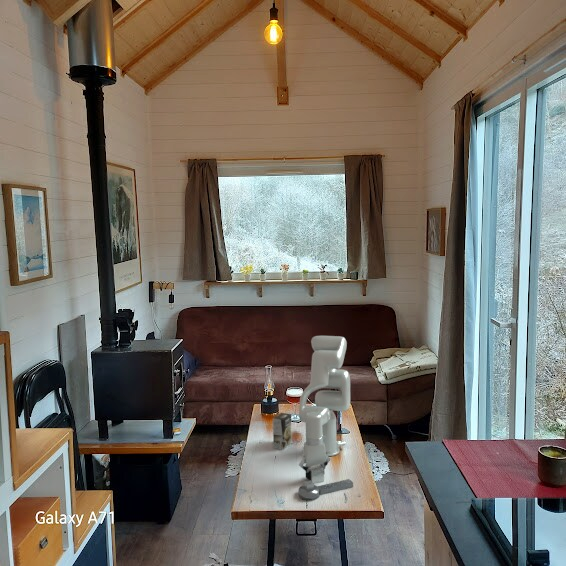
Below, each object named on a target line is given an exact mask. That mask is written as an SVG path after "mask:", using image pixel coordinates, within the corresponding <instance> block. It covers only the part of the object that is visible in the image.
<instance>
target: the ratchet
mask: <svg viewBox="0 0 566 566" xmlns="http://www.w3.org/2000/svg"><path fill="white" fill-rule="evenodd" d="M351 488H354V482H353V481H352V479H350V478H347V479H343V480H339V481H334V482H330V483H326V484H321V485H315V484H314V483H313V482H312V481H311V480H310V481H309V480H307V481H304V482H303V484H302V485H301V486H299V487H298V498H300V499H301V500H303V501H308V500H311V501H315V500H318V499H319V498H320V496H321V495H324V494H329V493H333V492H338V491H341V490H347V489H351Z"/></svg>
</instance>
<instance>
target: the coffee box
mask: <svg viewBox="0 0 566 566" xmlns="http://www.w3.org/2000/svg"><path fill="white" fill-rule="evenodd" d="M272 428H273V429H272V432H273V433H272V435H273V436H272V437H273V438H272V439H273V442H272V443H273V448H274V449H279V450H282V449H283V451H284V450H285V449H287V446H288V445H289V444H290V445H292V444H291V443H293V440H292V439H293V438H292V436H293V435H292V433H293V432H292V413H286V412H279V414H277V415H276V416H274V417H273V418H272ZM290 445H289V446H290ZM289 446H288V447H289Z"/></svg>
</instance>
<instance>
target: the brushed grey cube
mask: <svg viewBox="0 0 566 566" xmlns="http://www.w3.org/2000/svg"><path fill="white" fill-rule="evenodd" d="M309 472H310V480H311V481H312V482H313V483H314V485H315V484H318V483H323V482H325V474H324V473H325V469H324V468H323V467H322V466H321V465H320V464H318V465H314V466H311V468H310V471H309Z"/></svg>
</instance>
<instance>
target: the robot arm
mask: <svg viewBox="0 0 566 566" xmlns="http://www.w3.org/2000/svg"><path fill="white" fill-rule="evenodd" d="M310 343H311V348H312V350H313V351H314V352H312V355H311V367H310V368H311V369H310V382H309V384H308V385H307V387H306V388H304V390H303V391H302V393H301V395H300V398H299V406H298V418H299V420H300V422H302V423H305V442H304V443H303V447H302V459H301V461H300V462H299V463H298V466H299V467H300V468H301V469H303V470H304V472H305V478H306V479H307V481H310V472H309V471H310V468H311V466H314V465H318V464H320V465H321V466H322V467H323V468H324V470H325V469H326V467H327V466H328V463H330V461H331V460H332V459H331V457H333V456H336V455H337V456H338V454H339V453H340V452H341V451H340V450H341V449H340V447H344V446H346V442H345V441H341V440H337V439H338V438H337V417H336V414H335V411H338V412H339V411H340V412H346V411H349V409H350V407H351V406H350V405H351V376H350V373H349V371H348V370H346V369H341V368H342V366H343V364H344V359H345V355H346V353H347V352H346V351H347V344H348V342H347V340H346V338H345V337H344V336H339V335H338V336H337V335H336V336H335V335H315V336H313V337H312V338H311V341H310ZM320 389H326V390H320ZM327 389H336V390H327ZM337 389H338V391H337ZM318 390H319V391H318ZM315 391H317V392H316V393H315V396H314V402H315V406H314V405H307V401H308V397H309V396H310V395H311V394H312V393H313V392H315ZM304 464H305V465H304ZM324 475H325V472H324Z"/></svg>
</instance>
